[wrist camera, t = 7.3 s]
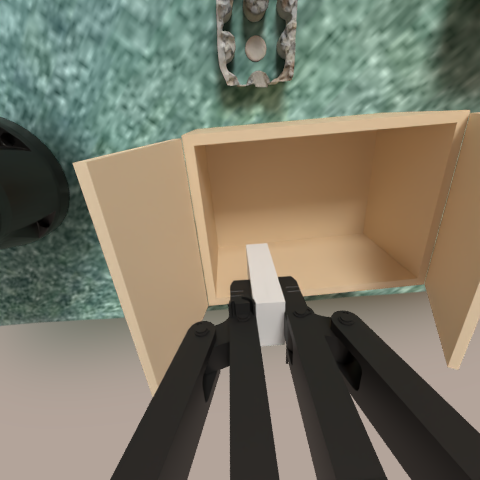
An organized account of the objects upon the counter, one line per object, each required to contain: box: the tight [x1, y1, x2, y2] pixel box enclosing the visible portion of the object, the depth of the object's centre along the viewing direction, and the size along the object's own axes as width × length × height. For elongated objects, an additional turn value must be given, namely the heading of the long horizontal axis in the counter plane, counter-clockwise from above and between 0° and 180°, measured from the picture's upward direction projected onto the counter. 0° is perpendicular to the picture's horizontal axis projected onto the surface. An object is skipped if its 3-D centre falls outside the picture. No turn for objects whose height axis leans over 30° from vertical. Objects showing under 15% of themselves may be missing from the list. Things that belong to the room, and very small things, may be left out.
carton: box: [181, 110, 470, 306], centre depth 28 cm, size 22×16×12 cm
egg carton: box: [216, 0, 298, 87], centre depth 25 cm, size 11×8×4 cm
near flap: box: [73, 139, 208, 396], centre depth 18 cm, size 10×16×1 cm
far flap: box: [425, 112, 480, 370], centre depth 19 cm, size 10×16×1 cm
